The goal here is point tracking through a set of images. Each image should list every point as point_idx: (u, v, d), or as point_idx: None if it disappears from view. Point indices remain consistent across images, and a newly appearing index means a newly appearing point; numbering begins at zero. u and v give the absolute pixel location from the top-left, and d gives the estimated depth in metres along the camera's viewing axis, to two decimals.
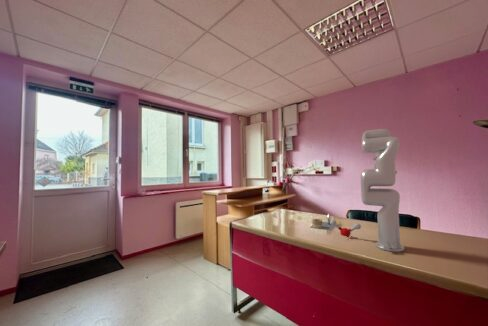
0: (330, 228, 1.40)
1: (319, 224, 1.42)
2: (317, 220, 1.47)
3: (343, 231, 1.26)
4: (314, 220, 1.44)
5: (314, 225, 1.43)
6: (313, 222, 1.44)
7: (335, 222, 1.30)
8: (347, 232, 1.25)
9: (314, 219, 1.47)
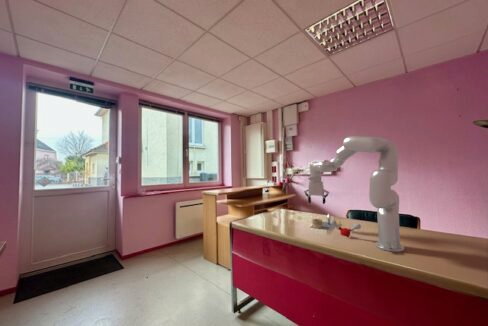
0: (330, 228, 1.40)
1: (319, 224, 1.42)
2: (317, 220, 1.47)
3: (343, 231, 1.26)
4: (314, 220, 1.44)
5: (314, 225, 1.43)
6: (313, 222, 1.44)
7: (335, 222, 1.30)
8: (347, 232, 1.25)
9: (314, 219, 1.47)
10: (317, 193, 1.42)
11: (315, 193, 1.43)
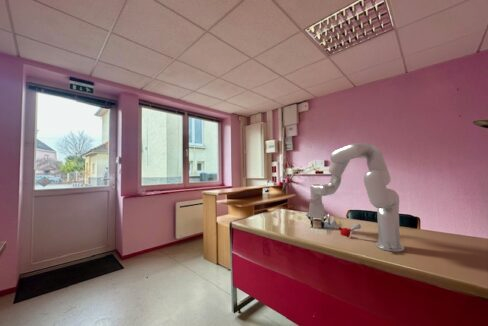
0: (330, 228, 1.40)
1: (319, 224, 1.42)
2: (317, 220, 1.47)
3: (343, 231, 1.26)
4: (314, 220, 1.44)
5: (314, 225, 1.43)
6: (313, 222, 1.44)
7: (335, 222, 1.30)
8: (347, 232, 1.25)
9: (314, 219, 1.47)
10: (318, 216, 1.42)
11: (316, 216, 1.43)
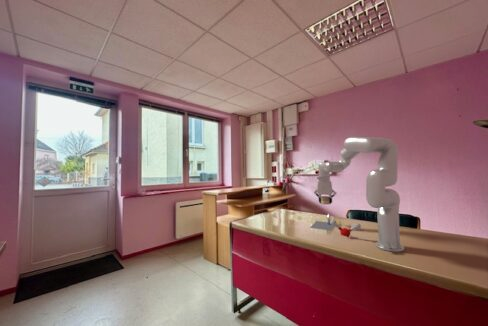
0: (330, 228, 1.40)
1: (327, 200, 1.47)
2: None
3: (343, 231, 1.26)
4: (322, 197, 1.49)
5: (322, 201, 1.48)
6: (321, 199, 1.49)
7: (335, 222, 1.30)
8: (347, 232, 1.25)
9: (322, 196, 1.52)
10: (326, 192, 1.47)
11: (324, 192, 1.48)
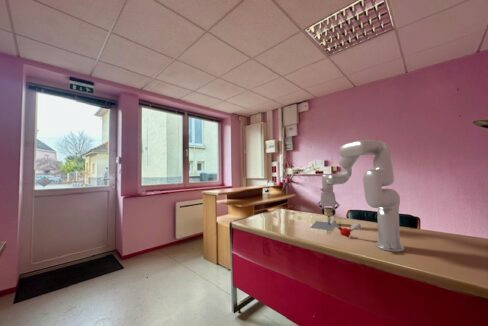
0: (330, 228, 1.40)
1: (330, 212, 1.48)
2: (328, 208, 1.53)
3: (343, 231, 1.26)
4: (325, 208, 1.50)
5: (325, 213, 1.50)
6: (324, 210, 1.50)
7: (335, 222, 1.30)
8: (347, 232, 1.25)
9: None
10: (329, 204, 1.48)
11: (327, 204, 1.49)
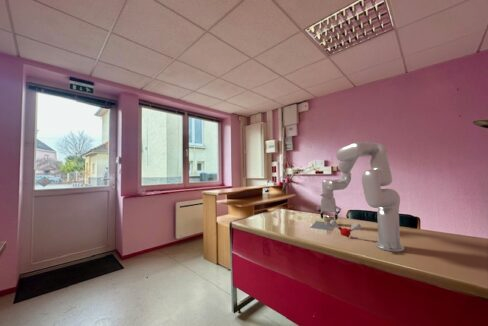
0: (330, 228, 1.40)
1: None
2: None
3: (343, 231, 1.26)
4: (326, 217, 1.50)
5: (326, 222, 1.49)
6: (325, 219, 1.50)
7: (335, 222, 1.30)
8: (347, 232, 1.25)
9: (326, 216, 1.53)
10: (330, 210, 1.48)
11: (328, 209, 1.49)
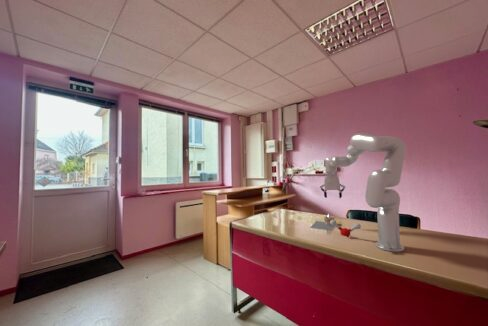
0: (330, 228, 1.40)
1: None
2: None
3: (343, 231, 1.26)
4: (326, 217, 1.50)
5: (326, 222, 1.49)
6: (325, 219, 1.50)
7: (335, 222, 1.30)
8: (347, 232, 1.25)
9: (326, 216, 1.53)
10: (333, 187, 1.45)
11: (331, 188, 1.46)
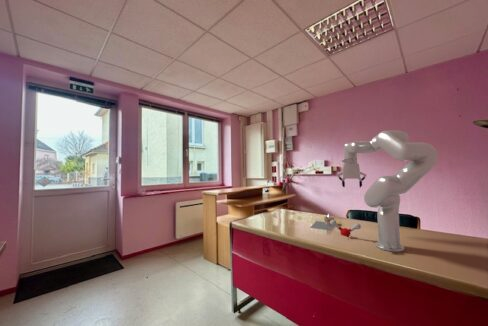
0: (330, 228, 1.40)
1: None
2: None
3: (343, 231, 1.26)
4: (326, 217, 1.50)
5: (326, 222, 1.49)
6: (325, 219, 1.50)
7: (335, 222, 1.30)
8: (347, 232, 1.25)
9: (326, 216, 1.53)
10: (353, 176, 1.32)
11: (351, 176, 1.33)
